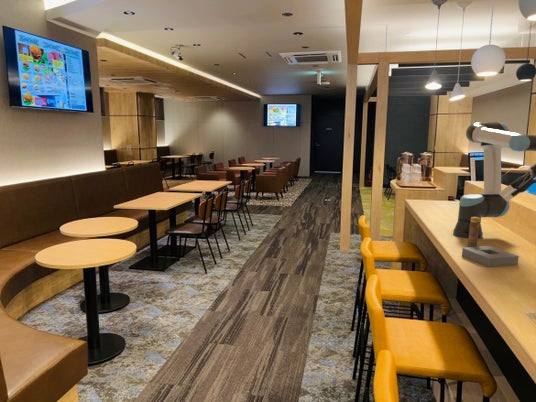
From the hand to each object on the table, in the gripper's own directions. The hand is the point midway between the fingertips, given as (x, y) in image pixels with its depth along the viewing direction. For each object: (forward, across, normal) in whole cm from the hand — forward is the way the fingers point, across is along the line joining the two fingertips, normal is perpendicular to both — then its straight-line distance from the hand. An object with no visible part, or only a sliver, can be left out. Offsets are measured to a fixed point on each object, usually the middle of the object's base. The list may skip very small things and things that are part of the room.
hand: (502, 197), depth 189 cm
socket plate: (+23, -17, -16) cm, 33 cm away
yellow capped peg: (+27, 0, -12) cm, 29 cm away
